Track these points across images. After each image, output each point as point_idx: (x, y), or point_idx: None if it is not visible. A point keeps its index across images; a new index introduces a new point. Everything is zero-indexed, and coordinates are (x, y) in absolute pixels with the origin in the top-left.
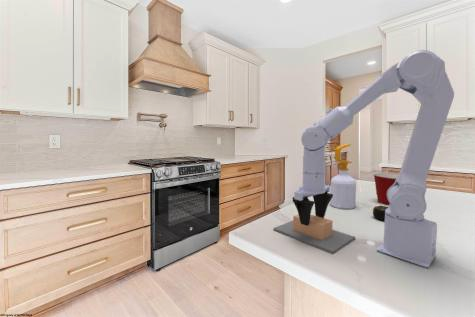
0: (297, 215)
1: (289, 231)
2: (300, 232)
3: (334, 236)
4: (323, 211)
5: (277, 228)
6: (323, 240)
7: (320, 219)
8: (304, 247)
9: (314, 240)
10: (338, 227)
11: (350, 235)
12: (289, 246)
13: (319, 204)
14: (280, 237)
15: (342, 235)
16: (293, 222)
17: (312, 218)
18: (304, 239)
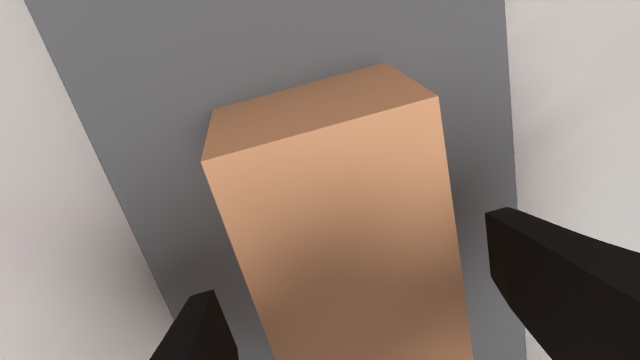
0: (270, 163)
1: (149, 129)
2: None
3: None
4: (540, 339)
5: (56, 5)
6: None
7: (408, 349)
8: (127, 346)
9: (239, 333)
10: (627, 191)
11: (524, 350)
12: (22, 305)
13: (597, 345)
14: (21, 155)
15: (481, 335)
16: (208, 135)
17: (359, 305)
18: (178, 300)
